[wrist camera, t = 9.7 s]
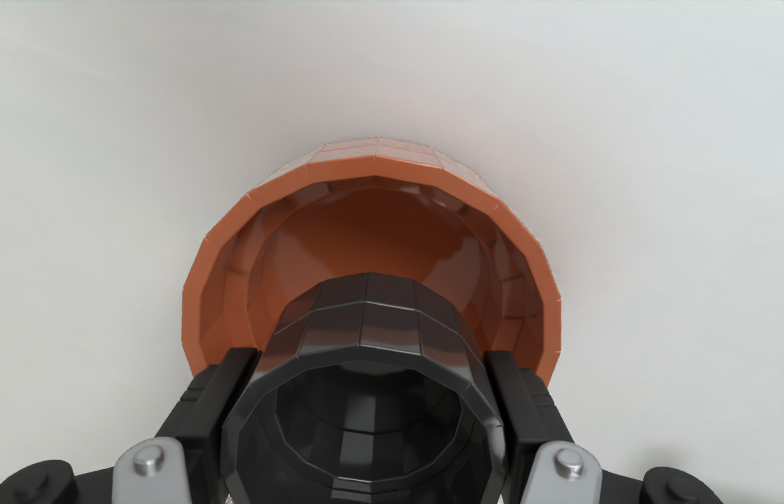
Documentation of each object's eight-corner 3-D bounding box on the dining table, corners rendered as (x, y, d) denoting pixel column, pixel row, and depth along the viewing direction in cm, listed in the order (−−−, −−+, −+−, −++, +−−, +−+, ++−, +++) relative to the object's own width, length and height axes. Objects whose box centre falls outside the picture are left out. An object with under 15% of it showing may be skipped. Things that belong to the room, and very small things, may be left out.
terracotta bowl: (243, 108, 17) (185, 118, 12) (557, 169, 17) (619, 200, 13) (225, 377, 21) (177, 462, 16) (478, 416, 22) (502, 508, 17)
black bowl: (279, 247, 12) (227, 322, 9) (498, 286, 13) (546, 374, 9) (260, 425, 15) (212, 550, 11) (448, 453, 15) (468, 582, 11)
